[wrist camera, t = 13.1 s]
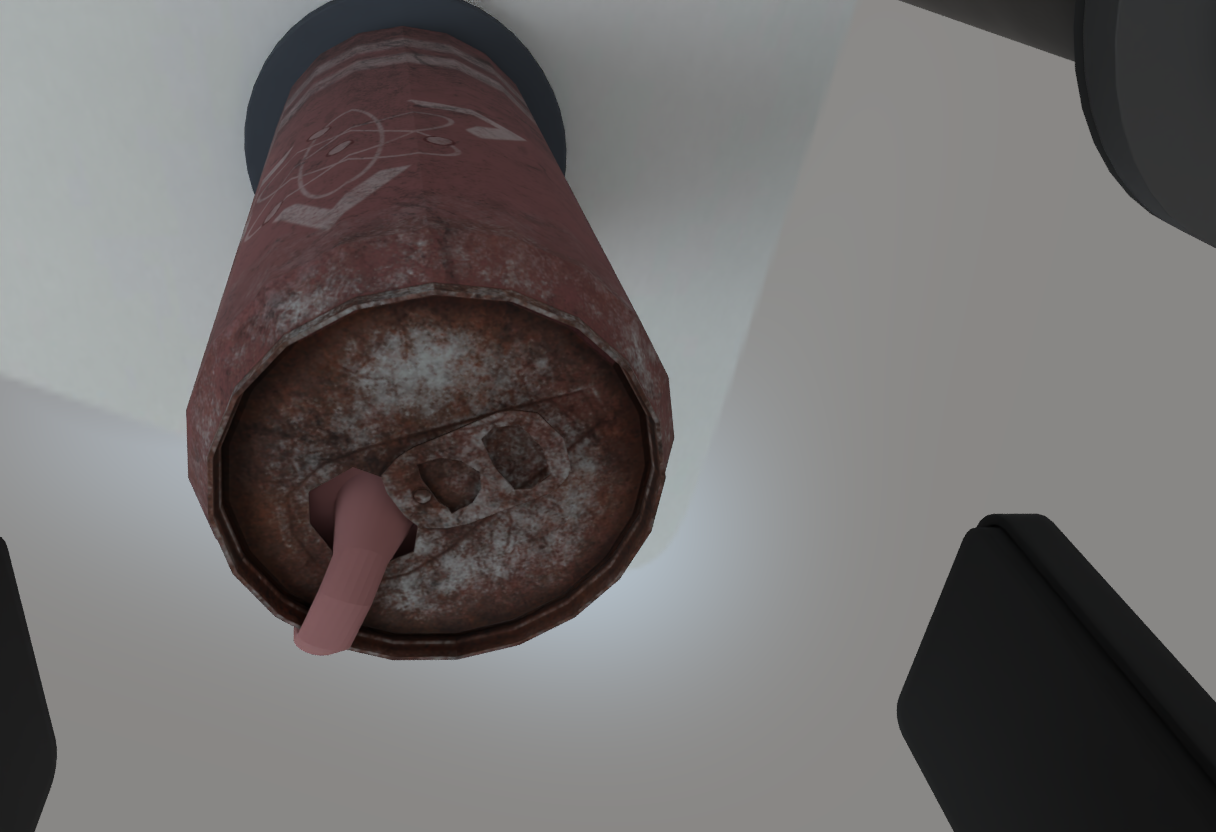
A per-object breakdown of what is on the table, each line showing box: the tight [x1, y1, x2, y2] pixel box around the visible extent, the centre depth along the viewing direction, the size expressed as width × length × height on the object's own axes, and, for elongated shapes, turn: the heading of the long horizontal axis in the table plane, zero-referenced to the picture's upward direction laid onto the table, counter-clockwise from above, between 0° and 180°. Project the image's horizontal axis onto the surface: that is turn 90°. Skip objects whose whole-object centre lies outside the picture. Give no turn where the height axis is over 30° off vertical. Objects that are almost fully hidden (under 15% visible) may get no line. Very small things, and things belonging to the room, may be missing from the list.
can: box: [186, 26, 674, 660], centre depth 17 cm, size 6×6×14 cm
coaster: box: [245, 0, 566, 194], centre depth 23 cm, size 8×8×1 cm
